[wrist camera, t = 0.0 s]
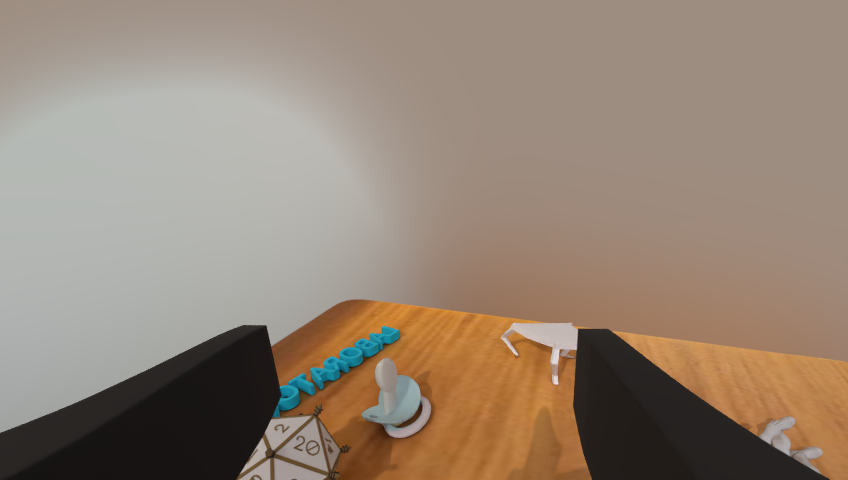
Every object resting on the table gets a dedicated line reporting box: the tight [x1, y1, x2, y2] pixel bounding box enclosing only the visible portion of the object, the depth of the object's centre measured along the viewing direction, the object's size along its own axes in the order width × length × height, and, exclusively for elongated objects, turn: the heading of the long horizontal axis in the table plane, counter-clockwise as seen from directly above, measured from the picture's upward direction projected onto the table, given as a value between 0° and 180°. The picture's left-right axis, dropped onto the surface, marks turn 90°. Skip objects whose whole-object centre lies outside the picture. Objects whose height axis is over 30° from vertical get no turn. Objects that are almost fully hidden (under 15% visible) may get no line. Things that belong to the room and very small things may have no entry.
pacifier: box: [362, 358, 431, 438], centre depth 40 cm, size 7×6×6 cm
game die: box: [236, 404, 351, 480], centre depth 30 cm, size 9×8×10 cm
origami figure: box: [501, 323, 578, 385], centre depth 47 cm, size 12×8×5 cm
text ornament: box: [273, 326, 400, 417], centre depth 40 cm, size 45×3×1 cm, turn 144°
